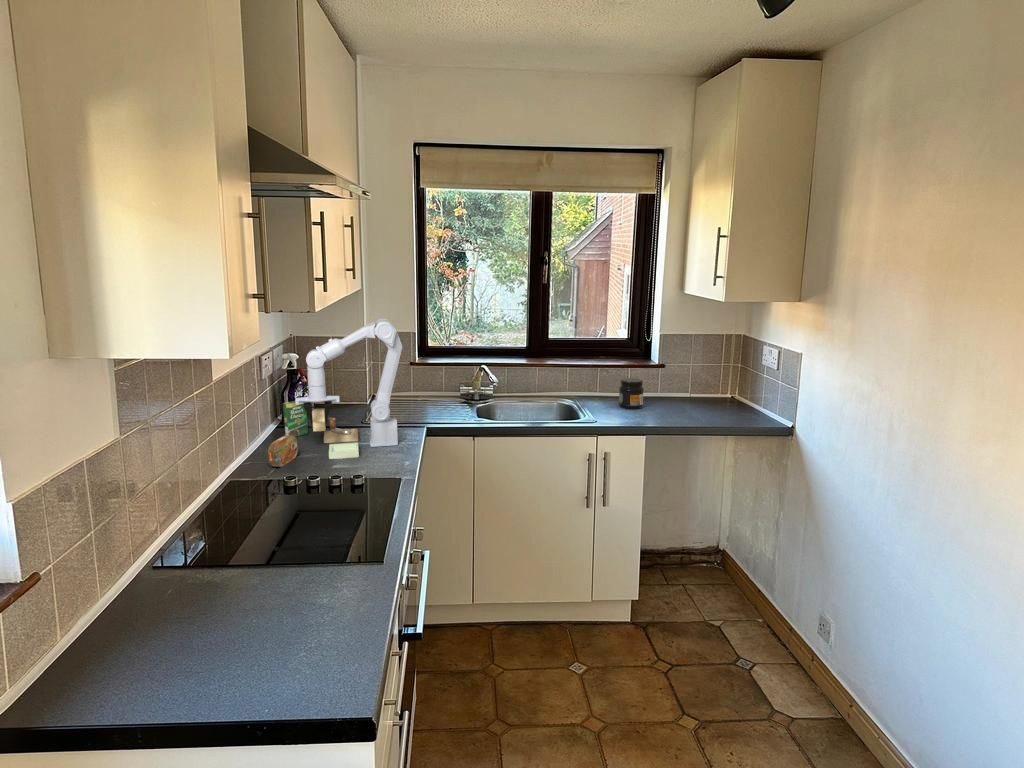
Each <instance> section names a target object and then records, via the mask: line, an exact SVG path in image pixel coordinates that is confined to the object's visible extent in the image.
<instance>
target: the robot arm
mask: <svg viewBox="0 0 1024 768" xmlns="http://www.w3.org/2000/svg"><path fill="white" fill-rule="evenodd" d="M376 337H377V338H378V339H379V340H381V341H382V342H383V343H384V344H385V346H386V348H387V352H386V356H385V359H384V364H383V367H382V372H381V377H380V381H379V384H378V389H377V392H376V395H375V398H374V399H373V400H372V402H371V403H370V410H371V417H370V418H369V419H370V421H369V422H370V439H369V446H370V447H371V448H373V447H374V448H377V447H378V448H379V447H388V446H389V447H391V446H398V445H399V433H398V420H397V418H392V416H391V410H390V404H391V403H390V402H391V396H392V391H393V387H394V384H395V378H396V375H397V371H398V367H399V363H400V359H401V355H402V351H403V344H402V342H401V341H402V340H401V339H400V336H399V334H398V331H397V330H396V326H395V325H393V323H392V322H391V321H390V320H389V319H387V318H379V319H377V320H376V322H375V321H373V322H370V323H368V324H365V325H364V326H362V327H359V329H357V330H355V331H353V332H351V333H350V334H348V335H346V336H345V337H343V338H342V339H340V338H329V339H328V342H326V343H324V344H322V345H320V346H319V345H317V346H316V347H315V349H311V350H310V351H309V352H307V354H306V358H305V361H306V364H307V367H306V368H307V369H306V370H307V373H306V374H307V387H308V396H303V397H302V396H301V397H295V400H294V401H296V405H299V404H304V408H305V410H306V412H307V417H308V418H309V421H310V425H313V419H312V409H313V404H322V403H324V404H323V407H324V408H325V425H327V424H328V418H329V415H330V410H331V408H332V405H333V403H340V395H327V388H326V387H327V386H326V372H325V370H324V369H325V368H324V367H325V366H324V363H325V362H330V361H331V360H332V361H333V359H335V358H337V357H339V356H341V355H343V354H344V353H345V350H346V348H348V347H350V346H352V345H354V344H356V343H358V342H360V341H362V340H364V339H366V338H368V339H369V338H370V339H376Z"/></svg>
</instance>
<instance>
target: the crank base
mask: <svg viewBox="0 0 1024 768" xmlns="http://www.w3.org/2000/svg"><path fill="white" fill-rule="evenodd" d="M350 429H351V434H347V435H344V434H342V433H338V432H333V431H331V429H329V430H325V431H323V444H336V443H352V442H359V430H358V428H350Z"/></svg>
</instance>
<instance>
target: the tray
mask: <svg viewBox="0 0 1024 768" xmlns="http://www.w3.org/2000/svg"><path fill="white" fill-rule="evenodd" d="M328 444H329V445H328V446H329V448H328V459H329V460H334V459H335V460H336V459H339V460H340V459H351V458H352V459H353V458H359V457H360V454H359V453H360V452H359V450H360V449H359V442H342V443H328Z"/></svg>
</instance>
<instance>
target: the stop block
mask: <svg viewBox="0 0 1024 768" xmlns="http://www.w3.org/2000/svg"><path fill="white" fill-rule="evenodd" d="M312 419H313V424H312V430H313V432H324V431H326V430H327V428H326V425H327V424H325V408H323V407H322V408H312Z"/></svg>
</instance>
